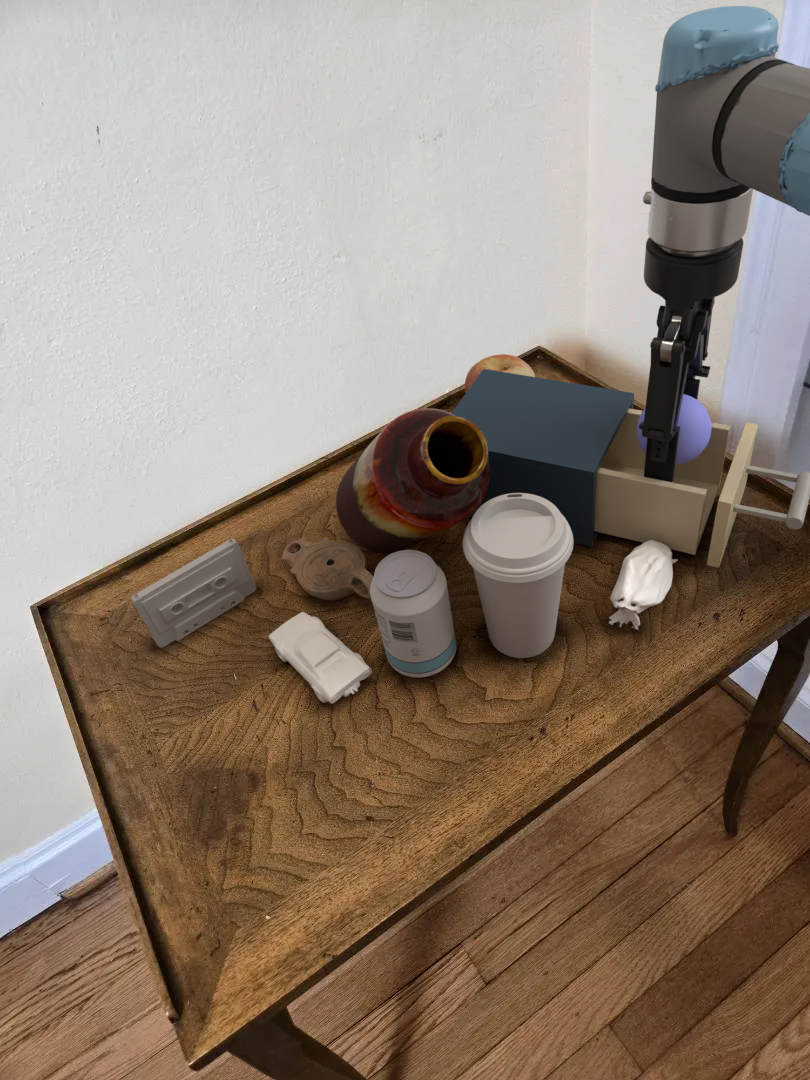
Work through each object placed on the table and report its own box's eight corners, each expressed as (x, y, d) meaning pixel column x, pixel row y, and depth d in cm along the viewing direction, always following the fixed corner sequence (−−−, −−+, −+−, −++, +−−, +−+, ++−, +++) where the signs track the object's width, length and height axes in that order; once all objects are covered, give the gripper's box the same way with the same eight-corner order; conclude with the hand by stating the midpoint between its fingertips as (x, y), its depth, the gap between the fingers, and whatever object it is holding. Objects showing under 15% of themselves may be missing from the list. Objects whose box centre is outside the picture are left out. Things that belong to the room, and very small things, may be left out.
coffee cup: (582, 607, 80) (587, 498, 69) (554, 683, 74) (554, 577, 64) (492, 584, 84) (483, 477, 73) (458, 655, 78) (443, 551, 67)
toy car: (309, 616, 84) (301, 595, 82) (380, 682, 77) (374, 662, 75) (266, 646, 82) (257, 626, 80) (335, 717, 75) (328, 697, 73)
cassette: (161, 652, 84) (134, 605, 78) (154, 641, 85) (127, 594, 80) (260, 592, 88) (240, 543, 82) (252, 582, 89) (231, 534, 84)
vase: (310, 515, 88) (363, 456, 63) (369, 441, 91) (441, 357, 66) (388, 577, 89) (470, 543, 64) (444, 502, 92) (542, 442, 67)
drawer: (807, 501, 84) (826, 435, 78) (786, 584, 77) (805, 519, 71) (596, 459, 94) (598, 397, 88) (560, 529, 87) (559, 468, 81)
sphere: (721, 452, 80) (730, 394, 76) (680, 489, 78) (688, 432, 73) (661, 426, 85) (666, 370, 80) (620, 461, 82) (623, 405, 77)
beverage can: (471, 649, 78) (460, 566, 70) (424, 696, 75) (406, 615, 67) (420, 615, 82) (404, 533, 74) (373, 659, 79) (350, 578, 71)
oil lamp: (272, 578, 89) (260, 547, 85) (321, 539, 92) (311, 507, 89) (353, 634, 82) (344, 603, 78) (403, 589, 85) (396, 557, 82)
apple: (456, 421, 104) (449, 369, 99) (499, 388, 108) (495, 336, 102) (508, 445, 99) (505, 392, 94) (552, 409, 103) (551, 355, 98)
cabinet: (628, 468, 93) (634, 392, 86) (591, 547, 85) (594, 472, 78) (489, 440, 101) (483, 368, 93) (443, 511, 93) (432, 439, 85)
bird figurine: (664, 642, 77) (682, 553, 82) (652, 609, 72) (671, 516, 76) (613, 635, 80) (633, 550, 84) (598, 603, 75) (620, 514, 79)
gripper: (678, 182, 72) (657, 392, 88) (611, 292, 61) (601, 511, 77) (767, 186, 69) (729, 404, 85) (714, 304, 57) (681, 529, 74)
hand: (668, 454), depth 81 cm, fingers closed on sphere, 7 cm apart
